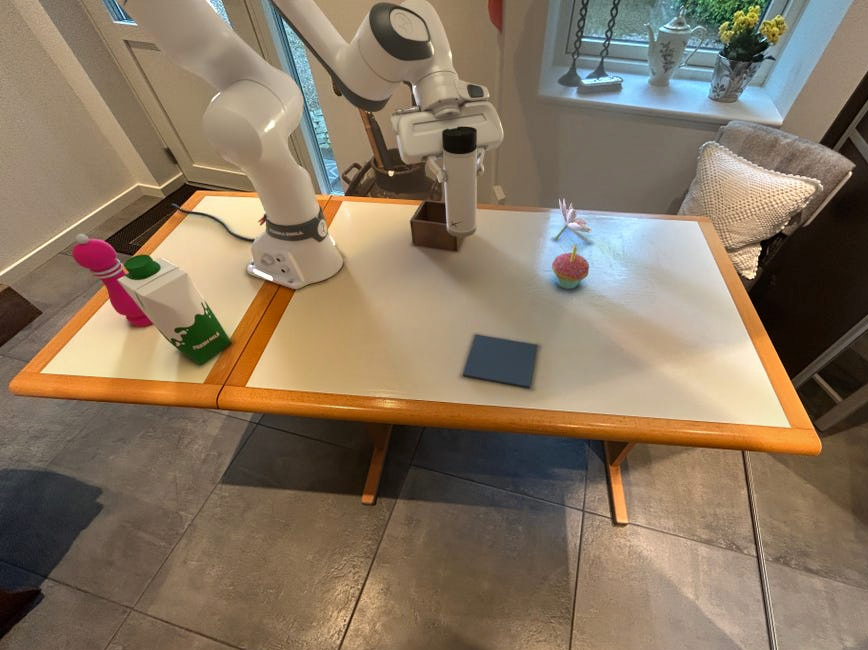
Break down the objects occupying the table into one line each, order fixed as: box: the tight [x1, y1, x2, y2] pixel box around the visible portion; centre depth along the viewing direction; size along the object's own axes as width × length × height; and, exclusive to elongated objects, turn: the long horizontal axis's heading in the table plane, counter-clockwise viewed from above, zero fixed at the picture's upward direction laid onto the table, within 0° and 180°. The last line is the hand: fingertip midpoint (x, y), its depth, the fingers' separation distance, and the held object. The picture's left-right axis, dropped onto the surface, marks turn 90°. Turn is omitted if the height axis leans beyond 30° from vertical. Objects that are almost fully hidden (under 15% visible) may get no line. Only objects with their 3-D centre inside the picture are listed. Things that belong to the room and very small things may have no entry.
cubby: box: [409, 199, 464, 252], centre depth 106 cm, size 12×11×7 cm
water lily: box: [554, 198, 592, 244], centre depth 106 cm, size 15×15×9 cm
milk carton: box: [118, 254, 233, 366], centre depth 73 cm, size 9×9×20 cm
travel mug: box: [442, 126, 478, 238], centre depth 77 cm, size 6×7×20 cm
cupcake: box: [551, 243, 590, 290], centre depth 92 cm, size 9×8×12 cm
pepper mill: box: [71, 233, 154, 328], centre depth 79 cm, size 7×7×20 cm
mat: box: [462, 334, 538, 389], centre depth 80 cm, size 13×11×1 cm
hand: (462, 177), depth 76 cm, fingers closed on travel mug, 6 cm apart
